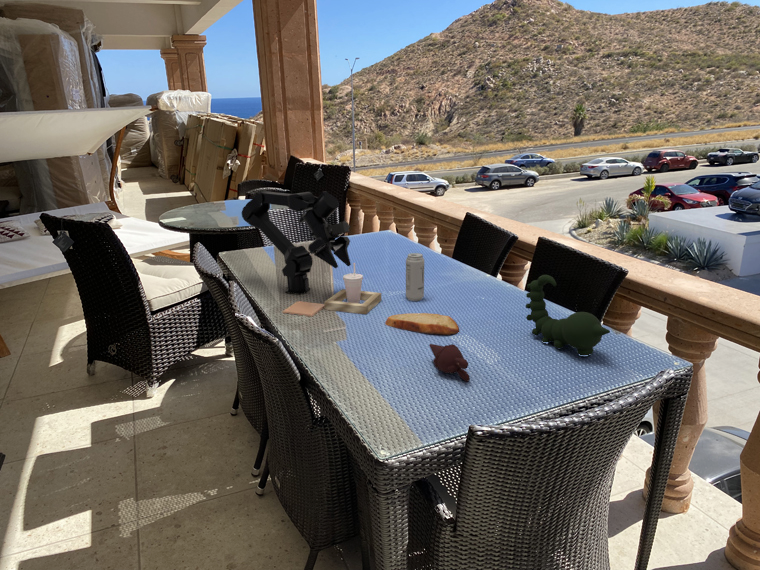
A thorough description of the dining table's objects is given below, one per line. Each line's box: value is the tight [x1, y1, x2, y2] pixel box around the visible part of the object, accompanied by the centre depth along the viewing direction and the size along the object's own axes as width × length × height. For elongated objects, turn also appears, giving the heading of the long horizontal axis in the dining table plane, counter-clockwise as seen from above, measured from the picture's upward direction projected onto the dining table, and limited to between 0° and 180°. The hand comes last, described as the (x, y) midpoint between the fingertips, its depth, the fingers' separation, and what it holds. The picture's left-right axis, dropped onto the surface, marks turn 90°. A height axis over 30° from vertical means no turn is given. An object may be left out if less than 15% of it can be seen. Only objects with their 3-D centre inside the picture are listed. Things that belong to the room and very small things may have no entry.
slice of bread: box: [384, 312, 460, 336], centre depth 152 cm, size 18×18×4 cm
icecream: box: [429, 343, 471, 382], centre depth 125 cm, size 7×7×15 cm
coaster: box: [282, 300, 325, 318], centre depth 167 cm, size 10×10×1 cm
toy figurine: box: [525, 274, 611, 355], centre depth 135 cm, size 9×19×25 cm
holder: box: [323, 288, 382, 315], centre depth 170 cm, size 14×14×2 cm
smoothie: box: [342, 262, 364, 304], centre depth 169 cm, size 6×6×14 cm
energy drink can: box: [405, 252, 425, 302], centre depth 174 cm, size 6×6×15 cm
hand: (343, 266), depth 169 cm, fingers open, 9 cm apart
